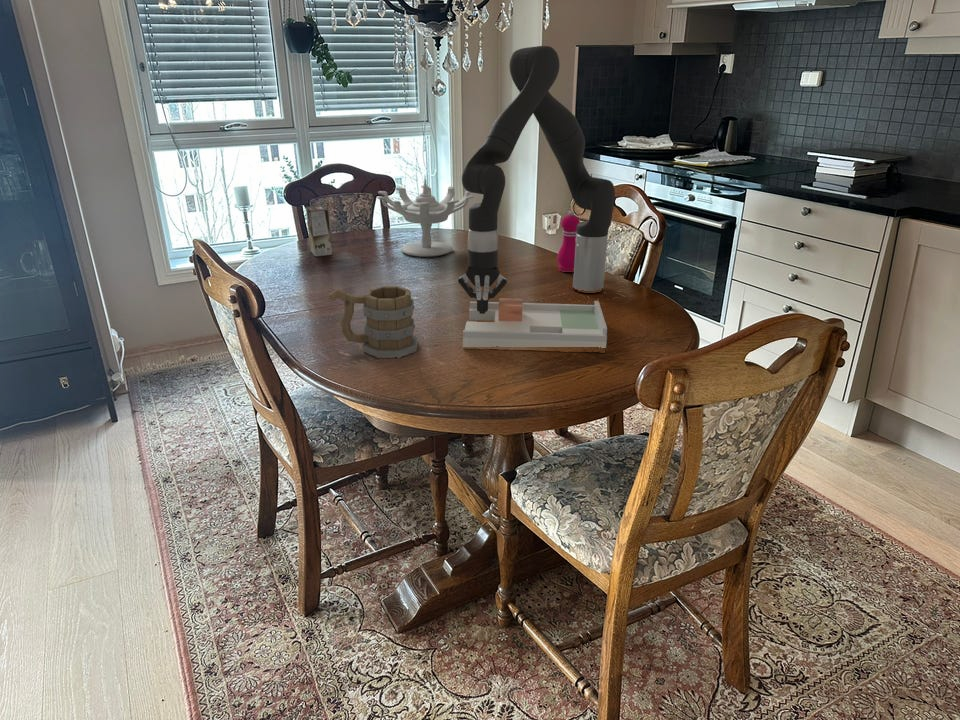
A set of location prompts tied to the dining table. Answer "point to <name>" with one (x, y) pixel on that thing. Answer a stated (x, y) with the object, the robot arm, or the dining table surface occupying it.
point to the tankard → (381, 321)
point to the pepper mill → (568, 242)
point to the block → (510, 309)
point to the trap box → (538, 327)
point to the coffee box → (319, 230)
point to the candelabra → (425, 217)
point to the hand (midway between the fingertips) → (482, 312)
